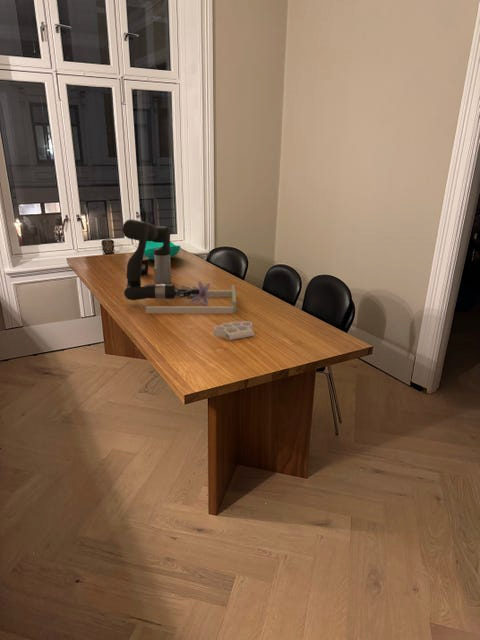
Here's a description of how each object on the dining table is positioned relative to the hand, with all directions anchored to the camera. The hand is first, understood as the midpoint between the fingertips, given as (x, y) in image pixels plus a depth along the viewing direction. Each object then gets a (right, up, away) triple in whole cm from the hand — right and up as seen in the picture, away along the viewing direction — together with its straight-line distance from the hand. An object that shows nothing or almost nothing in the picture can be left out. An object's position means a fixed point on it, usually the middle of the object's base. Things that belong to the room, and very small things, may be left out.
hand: (199, 291), depth 220 cm
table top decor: (-37, +29, +93) cm, 104 cm away
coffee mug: (-43, +15, +56) cm, 72 cm away
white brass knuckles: (+19, -21, -33) cm, 43 cm away
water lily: (0, -6, +4) cm, 7 cm away
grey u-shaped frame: (-3, -6, +3) cm, 8 cm away
